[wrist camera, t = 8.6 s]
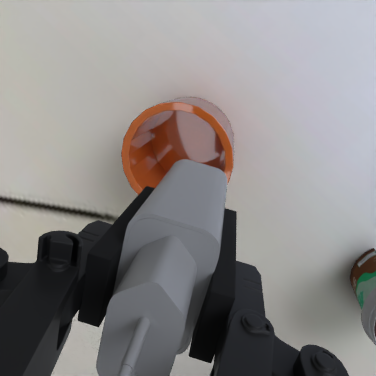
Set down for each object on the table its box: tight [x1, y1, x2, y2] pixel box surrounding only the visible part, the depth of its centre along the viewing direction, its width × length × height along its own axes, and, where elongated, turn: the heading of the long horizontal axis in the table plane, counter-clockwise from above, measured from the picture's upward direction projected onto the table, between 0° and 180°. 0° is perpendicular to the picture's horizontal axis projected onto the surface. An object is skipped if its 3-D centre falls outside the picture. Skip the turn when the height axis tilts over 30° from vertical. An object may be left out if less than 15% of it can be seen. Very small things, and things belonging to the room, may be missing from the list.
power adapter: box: [96, 159, 227, 376], centre depth 12 cm, size 3×5×12 cm, turn 166°
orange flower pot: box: [121, 97, 234, 195], centre depth 37 cm, size 12×12×10 cm
